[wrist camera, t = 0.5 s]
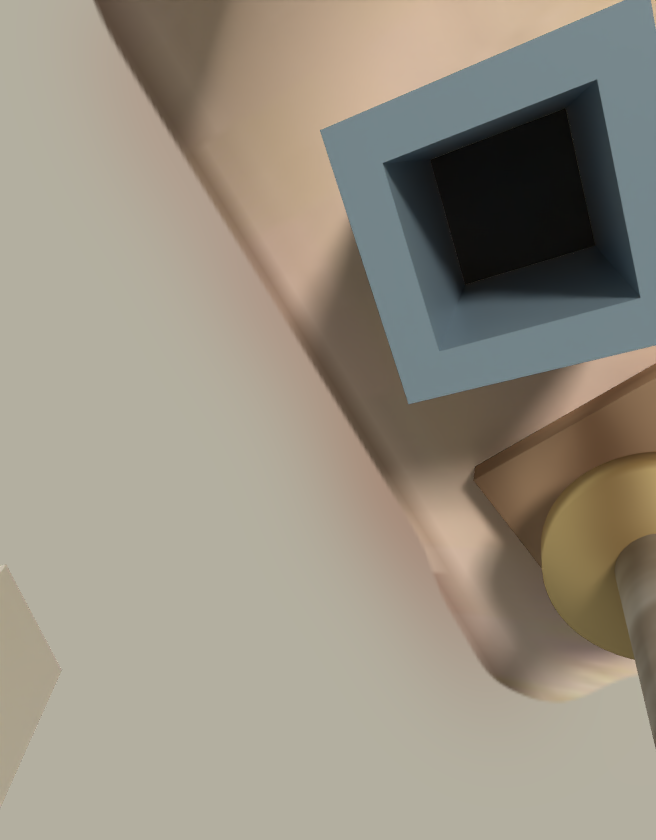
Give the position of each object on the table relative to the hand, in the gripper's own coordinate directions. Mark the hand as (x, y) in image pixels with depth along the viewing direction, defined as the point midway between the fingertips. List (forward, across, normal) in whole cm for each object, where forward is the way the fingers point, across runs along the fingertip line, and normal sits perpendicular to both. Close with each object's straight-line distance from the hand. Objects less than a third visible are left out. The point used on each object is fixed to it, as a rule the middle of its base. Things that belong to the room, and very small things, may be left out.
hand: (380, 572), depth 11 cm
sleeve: (+20, +8, +2) cm, 21 cm away
